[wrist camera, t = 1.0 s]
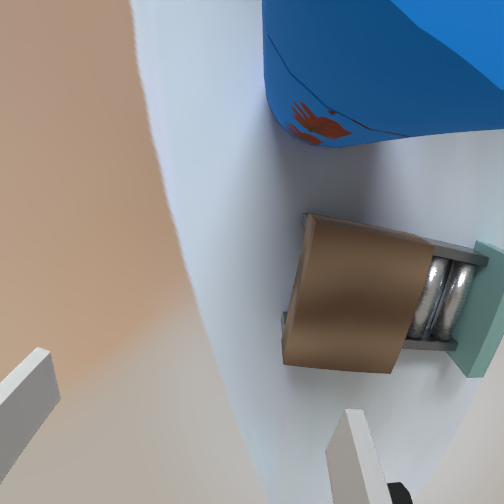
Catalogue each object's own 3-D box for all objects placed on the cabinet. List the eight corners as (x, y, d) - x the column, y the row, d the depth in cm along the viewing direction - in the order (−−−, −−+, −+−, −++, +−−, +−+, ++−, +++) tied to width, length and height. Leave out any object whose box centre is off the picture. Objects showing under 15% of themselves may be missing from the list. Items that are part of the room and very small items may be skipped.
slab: (308, 213, 26) (316, 221, 23) (414, 234, 26) (435, 246, 23) (281, 340, 30) (283, 364, 26) (378, 350, 30) (390, 373, 26)
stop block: (476, 240, 29) (514, 259, 23) (491, 245, 29) (529, 263, 23) (440, 345, 33) (467, 377, 26) (456, 345, 33) (483, 377, 26)
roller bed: (303, 213, 30) (307, 218, 27) (474, 249, 30) (489, 257, 27) (281, 320, 33) (282, 335, 30) (443, 338, 33) (455, 351, 30)
